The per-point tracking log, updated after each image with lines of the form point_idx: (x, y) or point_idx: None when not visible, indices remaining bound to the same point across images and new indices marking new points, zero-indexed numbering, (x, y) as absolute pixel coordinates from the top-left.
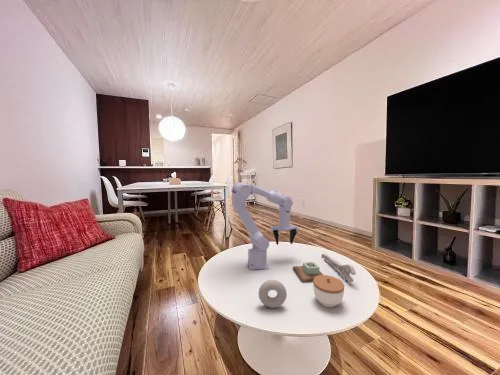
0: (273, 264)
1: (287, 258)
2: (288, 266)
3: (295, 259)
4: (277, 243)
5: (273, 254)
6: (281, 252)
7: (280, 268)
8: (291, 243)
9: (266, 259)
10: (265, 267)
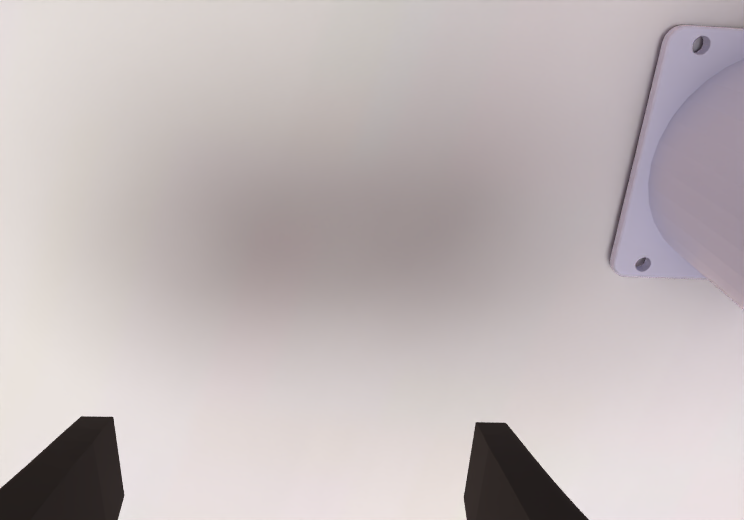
0: (522, 167)
1: (231, 323)
2: (304, 52)
3: (110, 274)
4: (511, 439)
5: (398, 462)
6: (263, 503)
7: (466, 5)
8: (99, 423)
9: (729, 145)
10: (722, 46)
